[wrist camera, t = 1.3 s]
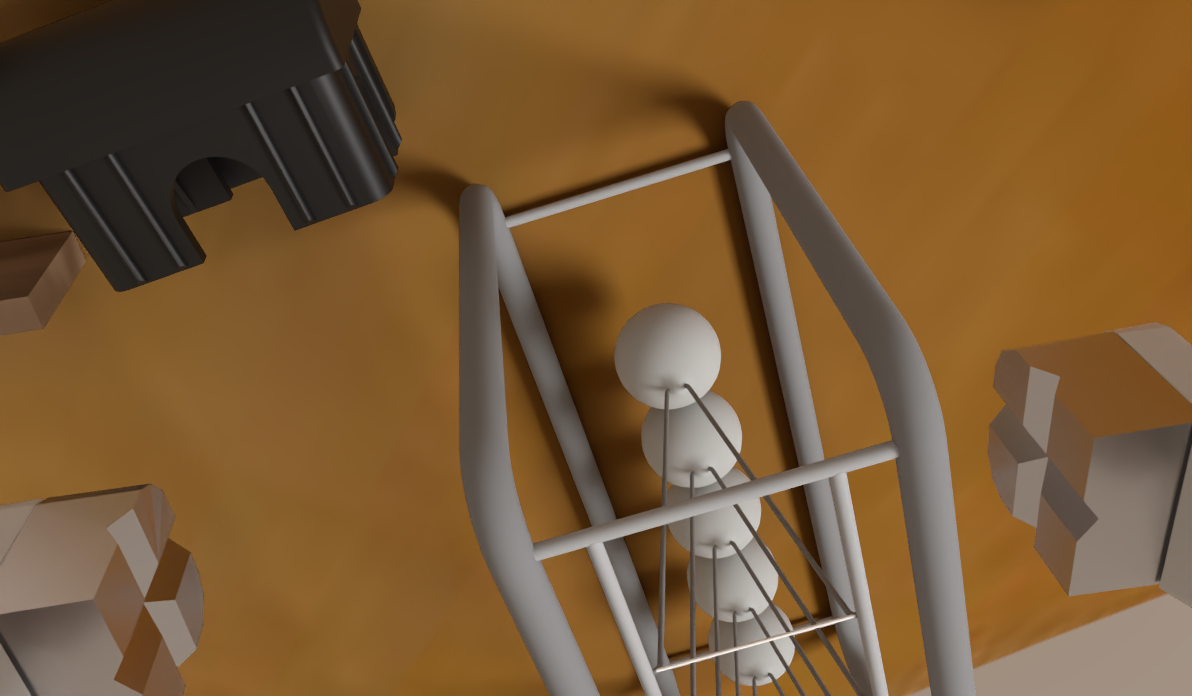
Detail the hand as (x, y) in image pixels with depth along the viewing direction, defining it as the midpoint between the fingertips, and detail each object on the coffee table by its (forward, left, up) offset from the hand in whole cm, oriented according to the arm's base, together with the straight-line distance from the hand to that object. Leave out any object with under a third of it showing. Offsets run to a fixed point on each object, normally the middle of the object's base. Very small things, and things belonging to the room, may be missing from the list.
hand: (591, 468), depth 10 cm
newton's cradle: (+22, +5, -27) cm, 35 cm away
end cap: (+3, -9, -27) cm, 28 cm away
